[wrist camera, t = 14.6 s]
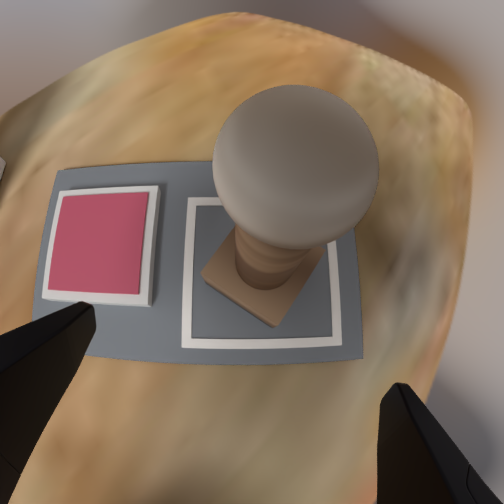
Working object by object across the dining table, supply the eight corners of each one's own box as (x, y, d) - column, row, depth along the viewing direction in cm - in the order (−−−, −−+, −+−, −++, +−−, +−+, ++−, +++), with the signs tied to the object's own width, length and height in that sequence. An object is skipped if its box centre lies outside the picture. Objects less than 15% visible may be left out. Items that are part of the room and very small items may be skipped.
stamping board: (359, 358, 20) (370, 359, 18) (35, 346, 18) (21, 345, 17) (342, 170, 24) (349, 157, 22) (60, 174, 22) (51, 163, 21)
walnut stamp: (272, 328, 19) (367, 278, 5) (205, 283, 20) (141, 136, 6) (313, 263, 21) (438, 114, 6) (250, 222, 21) (273, 25, 7)
